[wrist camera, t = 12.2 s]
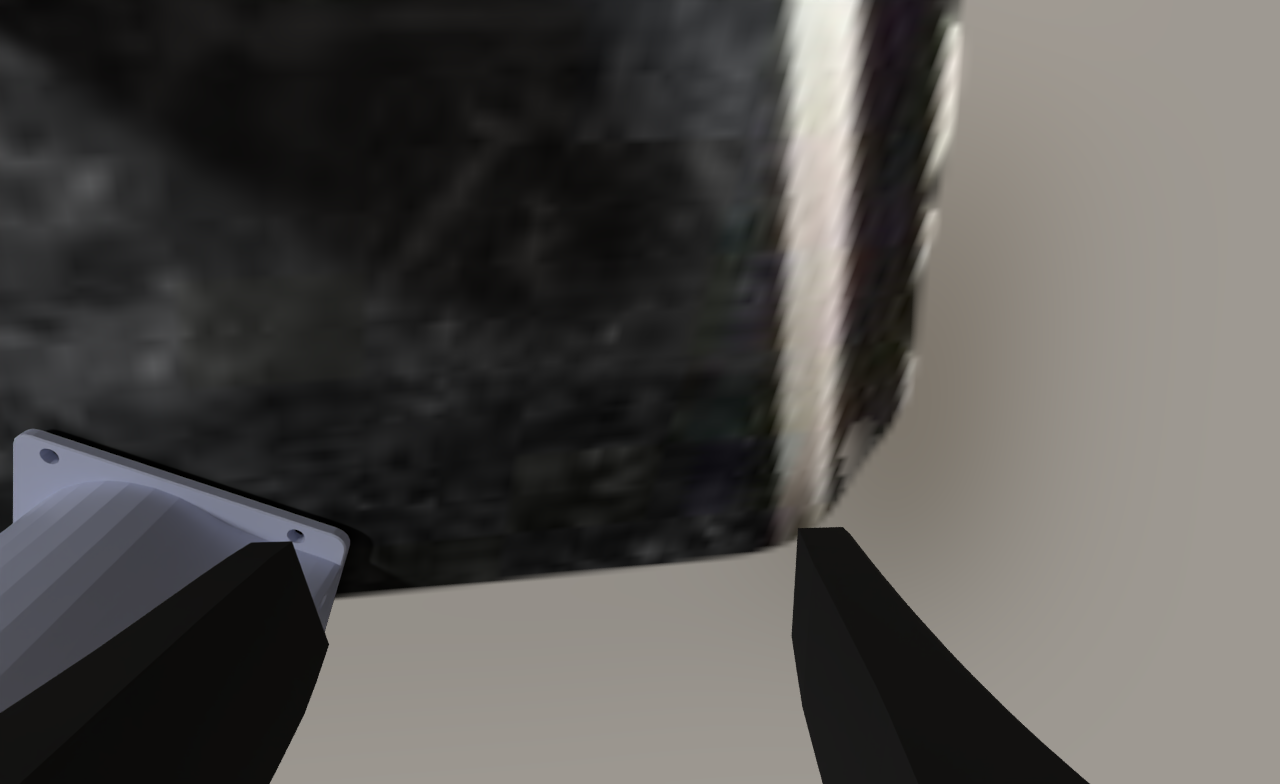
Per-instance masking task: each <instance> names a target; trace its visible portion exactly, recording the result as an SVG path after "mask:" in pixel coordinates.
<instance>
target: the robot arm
mask: <svg viewBox="0 0 1280 784" xmlns="http://www.w3.org/2000/svg"><path fill="white" fill-rule="evenodd" d="M53 451H54V452H55V453H56V454H55V453H54V452H53ZM295 530H299V531H300V532H302V533H303V534H304V535H301V534H299V533H297V532H296V531H295ZM349 547H350V539H349V537H348V535H347V534H346V533H345V532H344V531H343V530H341V529H339V528H336V527H333V526H330V525H327V524H324V523H321V522H318V521H315V520H312V519H309V518H306V517H303V516H300V515H297V514H294V513H291V512H288V511H285V510H282V509H279V508H276V507H273V506H270V505H267V504H263V503H260V502H257V501H254V500H251V499H248V498H245V497H242V496H239V495H236V494H233V493H230V492H227V491H224V490H221V489H218V488H215V487H212V486H209V485H206V484H203V483H200V482H197V481H194V480H191V479H188V478H185V477H182V476H179V475H175V474H172V473H169V472H166V471H163V470H160V469H157V468H154V467H151V466H148V465H145V464H142V463H139V462H136V461H133V460H130V459H127V458H124V457H121V456H118V455H115V454H112V453H109V452H106V451H103V450H100V449H97V448H94V447H91V446H87V445H84V444H81V443H78V442H75V441H72V440H69V439H66V438H63V437H60V436H57V435H54V434H51V433H48V432H45V431H42V430H38V429H29V430H26V431H25V432H23V433H22V434H20V435H19V436H17V437H16V438H15V439H14V443H13V524H12V525H10V526H9V527H8V528H7V529H5V530H4V531H3V532H1V533H0V784H270V782H271V780H272V778H273V776H274V774H275V772H276V770H277V768H278V766H279V764H280V762H281V760H282V758H283V756H284V754H285V752H286V750H287V748H288V746H289V744H290V742H291V740H292V738H293V736H294V734H295V732H296V730H297V728H298V726H299V724H300V722H301V720H302V718H303V716H304V714H305V711H306V708H307V705H308V703H309V700H310V698H311V695H312V692H313V690H314V687H315V684H316V682H317V679H318V676H319V673H320V670H321V667H322V664H323V661H324V658H325V655H326V652H327V649H328V646H329V643H328V640H327V638H326V635H325V629H326V626H327V622H328V619H329V615H330V612H331V608H332V605H333V602H334V598H335V595H336V591H337V588H338V584H339V581H340V578H341V574H342V571H343V567H344V564H345V560H346V557H347V554H348V550H349ZM792 641H793V649H794V655H795V662H796V669H797V675H798V682H799V688H800V694H801V701H802V707H803V711H804V715H805V718H806V722H807V726H808V730H809V733H810V737H811V741H812V745H813V749H814V753H815V756H816V760H817V764H818V768H819V771H820V775H821V779H822V783H823V784H1089V783H1088V782H1087V781H1086V780H1085V779H1083V778H1082V777H1081V776H1080V775H1079V774H1078V773H1077V772H1075V771H1074V770H1073V769H1072V768H1071V767H1070V766H1069V765H1067V764H1066V763H1065V762H1064V761H1063V760H1062V759H1061V758H1059V757H1058V756H1057V755H1056V754H1055V753H1054V752H1052V751H1051V750H1050V749H1049V748H1048V747H1047V746H1046V745H1045V744H1044V743H1042V742H1041V741H1040V740H1039V739H1038V738H1037V737H1036V736H1035V735H1034V734H1033V733H1032V732H1030V731H1029V730H1028V729H1027V728H1026V727H1025V726H1024V725H1023V724H1022V723H1021V722H1020V721H1019V720H1017V719H1016V718H1015V717H1014V716H1013V715H1012V714H1011V713H1010V712H1009V711H1008V710H1007V709H1006V708H1005V707H1004V706H1003V705H1002V704H1001V703H1000V702H999V701H998V700H997V699H996V698H995V697H994V696H993V695H992V694H991V693H990V692H989V691H988V690H987V689H986V688H985V687H984V686H983V685H982V684H981V683H980V682H979V681H978V680H977V679H976V678H975V677H973V675H972V674H971V673H970V672H969V671H968V670H967V669H966V668H965V667H964V666H963V665H962V664H961V663H960V662H959V661H958V660H957V659H956V658H955V657H954V655H953V654H952V653H950V651H949V650H948V649H947V648H946V647H945V646H944V645H943V644H942V642H941V641H940V640H939V639H938V638H937V637H936V636H935V635H934V634H933V633H932V632H931V630H930V629H929V628H928V627H927V626H926V625H925V624H924V623H923V622H922V620H921V619H920V618H919V617H918V616H917V615H916V614H915V613H914V612H913V610H912V609H911V608H910V607H909V606H908V605H907V603H906V602H905V601H904V600H903V599H902V598H901V597H900V595H899V594H898V593H897V592H896V591H895V589H894V588H893V587H892V586H891V585H890V583H889V582H888V581H887V580H886V579H885V577H884V576H883V575H882V574H881V572H880V571H879V570H878V569H877V568H876V567H875V565H874V564H873V563H872V562H871V560H870V559H869V558H868V556H867V555H866V554H865V553H864V551H863V550H862V549H861V548H860V546H859V545H858V544H857V542H856V541H855V540H854V539H853V537H852V536H851V535H850V533H848V532H847V531H846V530H845V529H844V528H843V527H829V528H798V538H797V555H796V573H795V589H794V606H793V623H792Z"/></svg>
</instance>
